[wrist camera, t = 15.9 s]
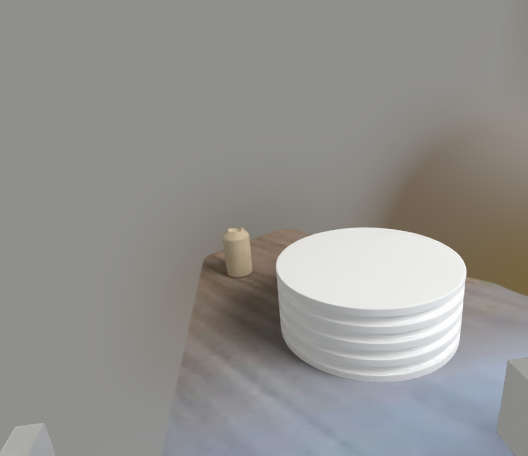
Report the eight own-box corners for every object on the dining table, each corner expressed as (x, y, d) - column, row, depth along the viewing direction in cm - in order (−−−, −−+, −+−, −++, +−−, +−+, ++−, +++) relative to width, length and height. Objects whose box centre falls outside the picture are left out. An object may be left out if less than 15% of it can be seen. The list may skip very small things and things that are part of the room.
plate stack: (461, 403, 50) (470, 324, 46) (254, 360, 61) (246, 292, 57) (457, 292, 74) (463, 233, 70) (308, 275, 85) (306, 223, 81)
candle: (251, 265, 91) (246, 223, 88) (253, 276, 86) (249, 231, 83) (226, 268, 91) (221, 226, 87) (227, 279, 86) (221, 235, 82)
